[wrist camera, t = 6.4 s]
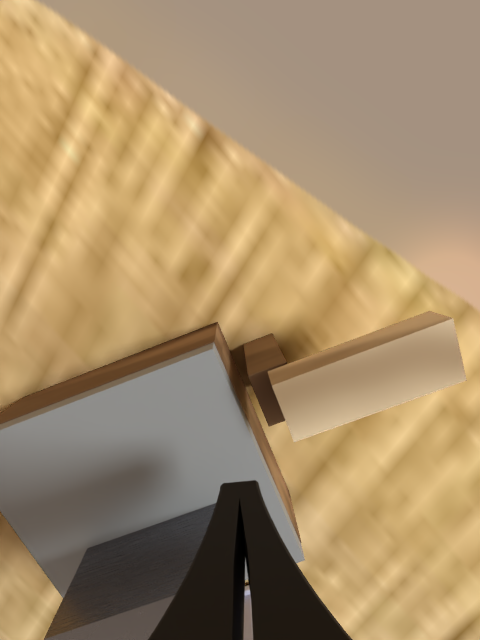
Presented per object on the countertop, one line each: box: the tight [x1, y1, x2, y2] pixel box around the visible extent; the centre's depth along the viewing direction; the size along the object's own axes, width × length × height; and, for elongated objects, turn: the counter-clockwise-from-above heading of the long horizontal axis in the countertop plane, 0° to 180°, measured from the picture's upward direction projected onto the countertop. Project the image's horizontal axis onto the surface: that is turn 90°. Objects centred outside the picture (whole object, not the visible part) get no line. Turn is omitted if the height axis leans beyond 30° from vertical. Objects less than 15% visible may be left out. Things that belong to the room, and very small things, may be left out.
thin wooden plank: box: [268, 311, 467, 442], centre depth 14 cm, size 3×8×2 cm, turn 111°
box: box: [0, 322, 301, 543], centre depth 19 cm, size 14×17×5 cm
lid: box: [0, 342, 305, 640], centre depth 15 cm, size 14×14×5 cm
